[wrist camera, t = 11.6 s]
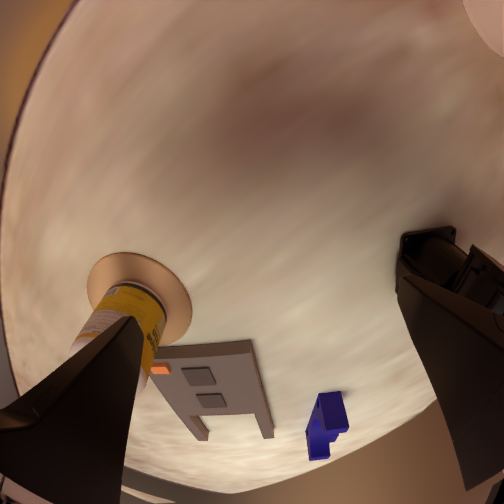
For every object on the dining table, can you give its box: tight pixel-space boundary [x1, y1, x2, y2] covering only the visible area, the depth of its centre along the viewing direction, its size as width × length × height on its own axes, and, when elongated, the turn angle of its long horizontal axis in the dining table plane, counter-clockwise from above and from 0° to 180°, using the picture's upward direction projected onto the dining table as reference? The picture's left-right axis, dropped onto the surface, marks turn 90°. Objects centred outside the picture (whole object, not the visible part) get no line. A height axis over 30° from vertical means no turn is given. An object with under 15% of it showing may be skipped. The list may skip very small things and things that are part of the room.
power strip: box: [149, 340, 274, 441], centre depth 31 cm, size 12×21×2 cm, turn 10°
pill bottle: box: [69, 281, 167, 397], centre depth 19 cm, size 6×6×12 cm
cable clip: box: [305, 391, 349, 461], centre depth 32 cm, size 12×4×6 cm, turn 0°
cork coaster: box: [87, 253, 192, 346], centre depth 24 cm, size 11×11×1 cm
